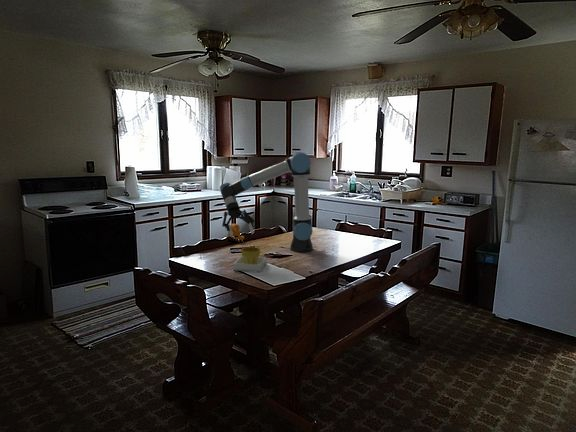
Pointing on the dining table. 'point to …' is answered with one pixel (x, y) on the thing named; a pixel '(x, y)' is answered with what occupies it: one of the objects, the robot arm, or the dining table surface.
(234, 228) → the orange irregular lump
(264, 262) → the tray
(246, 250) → the plant pot
